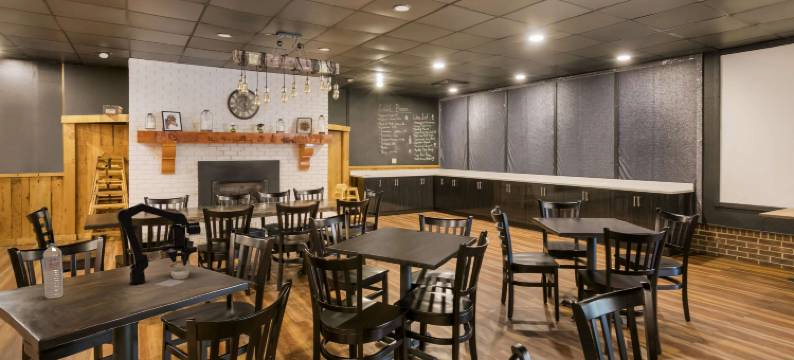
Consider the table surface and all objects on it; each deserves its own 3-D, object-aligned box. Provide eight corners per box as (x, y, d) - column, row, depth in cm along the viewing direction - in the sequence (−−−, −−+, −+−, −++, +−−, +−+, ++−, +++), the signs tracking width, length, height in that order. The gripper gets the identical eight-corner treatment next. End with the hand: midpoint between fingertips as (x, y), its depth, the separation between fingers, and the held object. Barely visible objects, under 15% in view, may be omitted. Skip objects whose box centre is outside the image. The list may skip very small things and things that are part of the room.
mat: (154, 285, 228) (154, 284, 228) (170, 280, 238) (170, 279, 238) (170, 287, 225) (170, 286, 225) (185, 282, 235) (185, 281, 235)
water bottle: (43, 300, 205) (41, 245, 203) (46, 295, 211) (44, 243, 209) (61, 298, 208) (59, 244, 207) (64, 293, 214) (62, 241, 213)
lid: (169, 267, 238) (169, 263, 238) (181, 263, 246) (181, 259, 246) (178, 268, 237) (178, 264, 236) (190, 264, 244) (189, 260, 244)
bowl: (167, 279, 239) (167, 271, 239) (180, 275, 247) (179, 267, 247) (180, 281, 237) (180, 272, 236) (192, 276, 244) (192, 268, 244)
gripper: (204, 234, 245) (204, 263, 246) (176, 232, 251) (177, 260, 252) (189, 238, 235) (189, 267, 235) (160, 235, 240) (161, 264, 241)
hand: (179, 265), depth 241 cm, fingers closed on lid, 6 cm apart
